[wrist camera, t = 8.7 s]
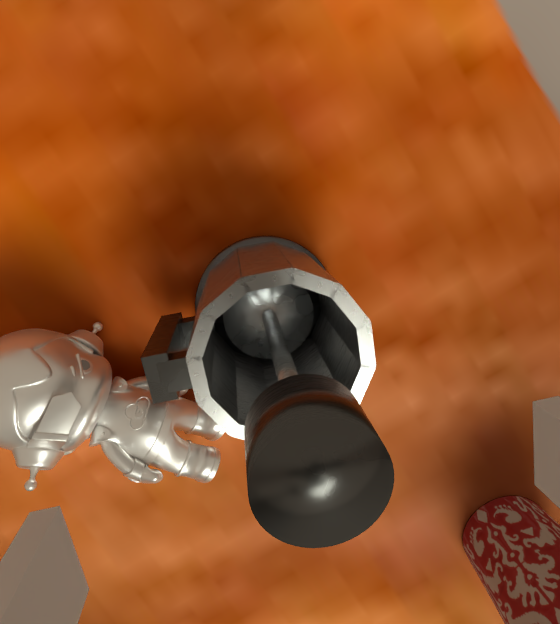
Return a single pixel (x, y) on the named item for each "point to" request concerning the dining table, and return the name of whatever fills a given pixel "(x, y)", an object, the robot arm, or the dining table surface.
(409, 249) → the dining table surface
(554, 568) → the mug
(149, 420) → the figurine
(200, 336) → the grey coffee mug
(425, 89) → the dining table surface
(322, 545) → the plunger
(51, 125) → the dining table surface
